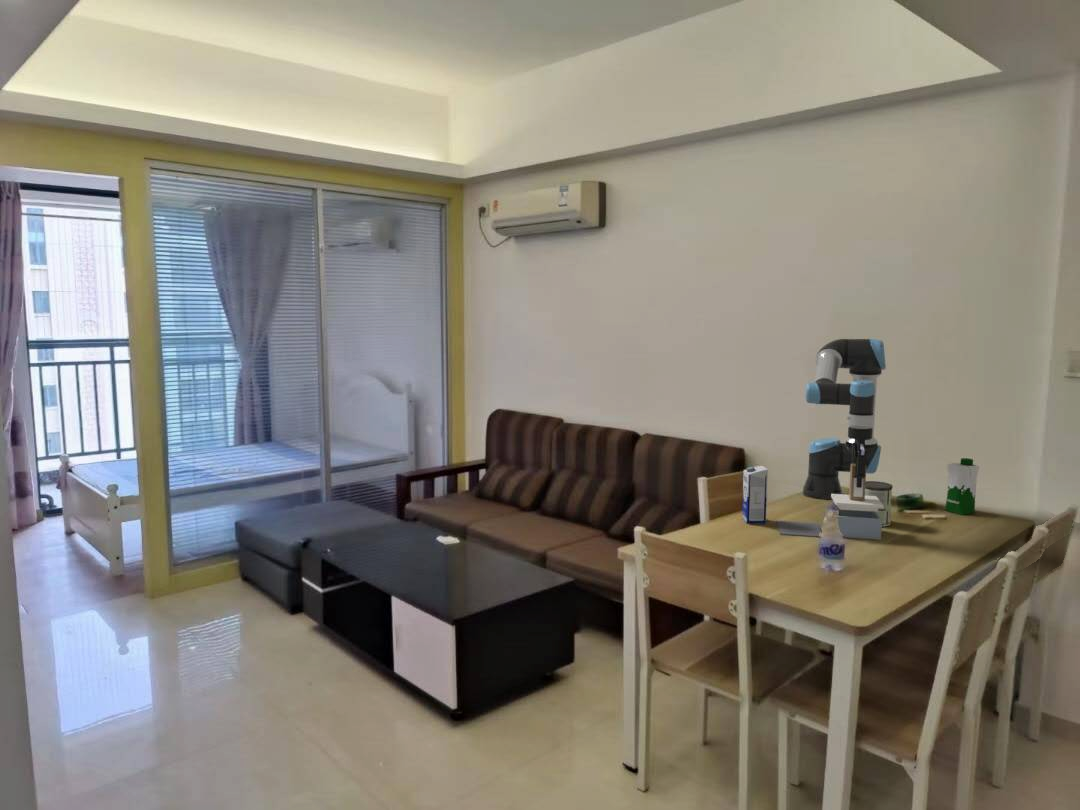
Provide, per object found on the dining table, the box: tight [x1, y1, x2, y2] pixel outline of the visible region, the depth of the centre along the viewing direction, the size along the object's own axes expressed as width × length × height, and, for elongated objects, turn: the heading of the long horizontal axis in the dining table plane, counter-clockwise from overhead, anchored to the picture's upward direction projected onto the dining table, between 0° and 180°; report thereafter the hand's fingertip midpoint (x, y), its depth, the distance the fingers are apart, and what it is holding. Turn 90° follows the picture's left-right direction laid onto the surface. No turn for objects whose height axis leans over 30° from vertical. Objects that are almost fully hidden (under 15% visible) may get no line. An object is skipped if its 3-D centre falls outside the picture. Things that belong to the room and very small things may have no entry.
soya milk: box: [944, 457, 980, 516], centre depth 275 cm, size 9×9×20 cm
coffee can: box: [865, 480, 894, 528], centre depth 262 cm, size 10×10×14 cm
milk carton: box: [741, 465, 769, 525], centre depth 264 cm, size 7×7×20 cm
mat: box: [776, 520, 821, 538], centre depth 254 cm, size 16×14×1 cm
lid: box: [831, 464, 884, 512], centre depth 248 cm, size 13×15×15 cm
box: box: [837, 507, 882, 540], centre depth 250 cm, size 12×14×7 cm
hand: (856, 494), depth 249 cm, fingers closed on lid, 3 cm apart
